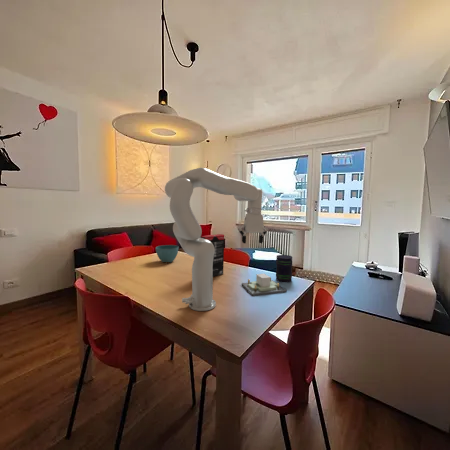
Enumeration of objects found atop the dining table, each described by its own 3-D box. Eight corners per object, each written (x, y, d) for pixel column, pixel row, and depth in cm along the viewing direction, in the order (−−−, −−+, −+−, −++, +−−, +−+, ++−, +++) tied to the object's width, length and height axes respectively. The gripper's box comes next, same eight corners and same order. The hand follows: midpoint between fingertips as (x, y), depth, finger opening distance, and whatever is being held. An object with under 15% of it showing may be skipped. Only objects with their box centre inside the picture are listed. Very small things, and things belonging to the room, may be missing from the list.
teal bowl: (151, 264, 180) (151, 248, 178) (161, 258, 197) (161, 244, 196) (173, 265, 177) (173, 249, 175) (181, 259, 194) (181, 245, 193)
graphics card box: (217, 271, 160) (217, 233, 157) (224, 274, 155) (224, 234, 152) (198, 277, 148) (198, 235, 145) (205, 279, 143) (205, 236, 140)
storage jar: (291, 278, 147) (292, 255, 146) (291, 283, 138) (292, 259, 136) (276, 276, 150) (276, 254, 149) (275, 281, 141) (275, 257, 139)
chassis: (252, 295, 119) (252, 288, 118) (241, 285, 134) (241, 278, 134) (286, 291, 124) (286, 284, 124) (272, 282, 140) (272, 275, 139)
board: (255, 292, 121) (255, 280, 120) (245, 284, 132) (245, 273, 131) (281, 288, 126) (281, 277, 125) (270, 281, 137) (270, 271, 137)
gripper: (241, 210, 116) (239, 244, 117) (272, 212, 121) (270, 244, 122) (236, 210, 123) (235, 242, 125) (265, 212, 128) (264, 242, 129)
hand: (252, 243), depth 123 cm, fingers open, 9 cm apart
